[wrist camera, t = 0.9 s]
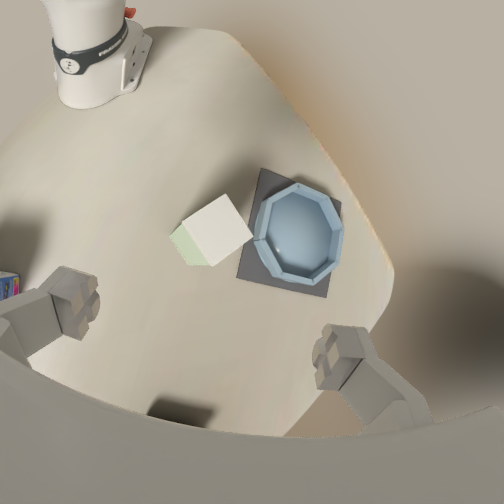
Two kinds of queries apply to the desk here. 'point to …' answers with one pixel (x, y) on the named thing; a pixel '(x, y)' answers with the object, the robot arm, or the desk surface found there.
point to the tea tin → (211, 233)
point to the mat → (250, 261)
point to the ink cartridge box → (8, 285)
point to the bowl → (298, 235)
